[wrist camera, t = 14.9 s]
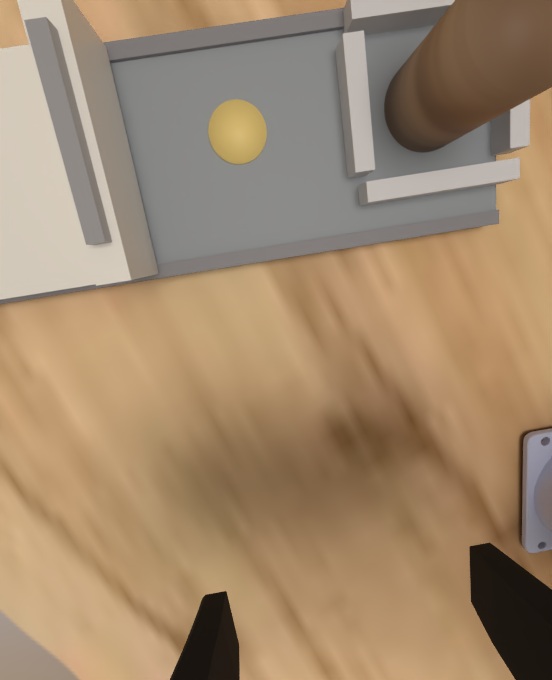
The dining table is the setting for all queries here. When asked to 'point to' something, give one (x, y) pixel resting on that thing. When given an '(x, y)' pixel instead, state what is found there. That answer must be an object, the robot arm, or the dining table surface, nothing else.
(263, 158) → the board
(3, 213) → the cover
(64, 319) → the dining table surface
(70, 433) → the dining table surface
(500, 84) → the peg
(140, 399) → the dining table surface
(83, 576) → the dining table surface
